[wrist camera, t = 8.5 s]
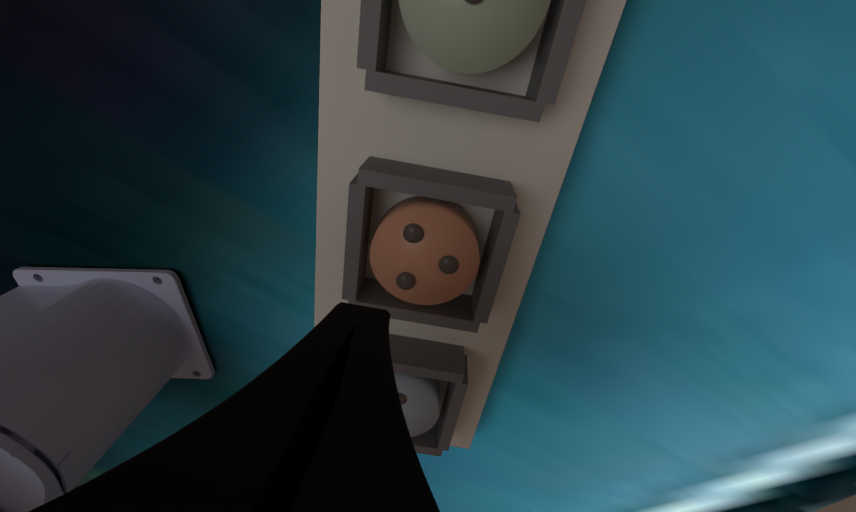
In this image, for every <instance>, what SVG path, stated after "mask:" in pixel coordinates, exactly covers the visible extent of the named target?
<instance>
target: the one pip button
mask: <svg viewBox="0 0 856 512" xmlns="http://www.w3.org/2000/svg"><path fill="white" fill-rule="evenodd" d="M549 4H550V0H399V7H400V11H401V15H402V18H403V21H404V24H405V26H406V29H407V31H408V33H409V34H410V36H411V38H412V40H413V41H414V43H415V44H416V45H417V47H418V48H419V49H420V50H421V51H422V53H423V54H424V55H425V56H426V57H428V58H429V59H430V60H431V61H433V62H434V63H436V64H437V65H439V66H441V67H443V68H445V69H447V70H450V71H454V72H457V73H465V74H477V73H483V72H488V71H491V70H494V69H496V68H498V67H501V66H503V65H505V64H506V63H508V62H509V61H511V60H512V59H514V58H515V57H516V56H517V55H518V54H520V53H521V52H522V51H523V50H524V49H525V48H526V46H527V45H528V44H529V43H530V42H531V40H532V39H533V38H534V36H535V35H536V33H537V32H538V30H539V28H540V26H541V25H542V22H543V20H544V18H545V16H546V13H547V10H548V7H549Z"/></svg>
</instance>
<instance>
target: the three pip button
mask: <svg viewBox="0 0 856 512" xmlns="http://www.w3.org/2000/svg"><path fill="white" fill-rule="evenodd" d="M479 261H480V256H479V247H478V240H477V234H476V230H475V227H474V225H473V222H472V221H471V219H470V217H469V216H468V215H467V214H466V212H465V211H464V210H463V209H461V208H460V207H459V206H458V205H456V204H455V203H453V202H451V201H445V200H439V199H434V198H428V197H423V196H413V197H410V198H407V199H404V200H402V201H400V202H398V203H397V204H395V205H394V206H393V207H391V208H390V209H389V210H388V211H387V212H386V214H385V215H384V216H383V218H382V220H381V222H380V224H379V226H378V228H377V230H376V233H375V235H374V237H373V240H372V243H371V247H370V264H371V267H372V270H373V273H374V275H375V277H376V278H377V280H378V282H379V283H380V284H381V285H382V286H383V287H384V288H385V289H386V290H387V291H388V292H389V293H390V294H392V295H393V296H395V297H397V298H399V299H401V300H403V301H406V302H409V303H413V304H418V305H436V304H441V303H444V302H447V301H450V300H452V299H454V298H456V297H458V296H459V295H461V294H462V293H463V292H464V291H465V290H466V289H467V288H468V287H469V286H470V285H471V283H472V282H473V280H474V279H475V277H476V274H477V272H478V268H479Z"/></svg>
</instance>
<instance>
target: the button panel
mask: <svg viewBox="0 0 856 512" xmlns="http://www.w3.org/2000/svg"><path fill="white" fill-rule="evenodd" d="M625 3H626V0H550V4H549V7H548V10H547V13H546V16H545V18H544V20H543V22H542V25H541V26H540V28H539V30H538V32H537V33H536V35H535V36H534V38H533V39H532V40H531V42H530V43H529V44H528V45H527V46H526V48H525V49H524V50H523V51H522V52H521V53H520V54H518V55H517V56H516V57H515V58H514V59H512V60H511V61H509V62H508V63H506V64H505V65H503V66H501V67H498V68H496V69H494V70H491V71H488V72H483V73H477V74H465V73H457V72H454V71H450V70H447V69H445V68H443V67H441V66H439V65H437V64H436V63H434V62H433V61H431V60H430V59H429V58H428V57H426V56H425V55H424V54H423V53H422V51H421V50H420V49H419V48H418V47H417V45H416V44H415V43H414V41H413V40H412V38H411V36H410V34H409V33H408V31H407V29H406V26H405V24H404V21H403V18H402V15H401V11H400V7H399V0H321V41H320V87H319V133H318V179H317V225H316V270H315V316H314V327H315V326H316V325H317V324H318V323H319V322H320V321H321V320H322V319H323V318H324V317H325V316H326V315H327V314H328V313H329V312H330V311H331V310H332V309H333V308H334V307H335V306H336V305H337V304H339V303H340V302H344V303H349V304H355V305H361V306H367V307H372V308H378V309H384V310H387V311H388V312H389V313H390V314H391V315H390V322H389V341H390V351H391V359H392V364H393V370H394V372H395V373H401V374H407V375H413V376H419V377H425V378H431V379H437V380H438V381H439V384H440V406H439V417H438V420H437V422H436V423H435V425H434V426H433V427H432V428H431V429H430V430H428V431H427V432H425V433H423V434H420V435H418V436H414V437H411V439H412V443H413V446H414V448H415V451H416V453H423V454H429V455H435V456H441V454H442V450H447V451H448V449H449V446H455V447H461V448H467V449H469V448H470V445H471V442H472V439H473V437H474V434H475V431H476V428H477V425H478V422H479V419H480V417H481V414H482V411H483V408H484V405H485V402H486V400H487V397H488V394H489V391H490V388H491V385H492V382H493V380H494V377H495V374H496V371H497V368H498V365H499V362H500V360H501V357H502V354H503V351H504V348H505V345H506V342H507V340H508V337H509V334H510V331H511V328H512V325H513V323H514V320H515V317H516V314H517V311H518V308H519V305H520V303H521V300H522V297H523V294H524V291H525V288H526V285H527V283H528V280H529V277H530V274H531V271H532V268H533V265H534V263H535V260H536V257H537V254H538V251H539V248H540V246H541V243H542V240H543V237H544V234H545V231H546V228H547V226H548V223H549V220H550V217H551V214H552V211H553V208H554V206H555V203H556V200H557V197H558V194H559V191H560V189H561V186H562V183H563V180H564V177H565V174H566V171H567V169H568V166H569V163H570V160H571V157H572V154H573V151H574V149H575V146H576V143H577V140H578V137H579V134H580V131H581V129H582V126H583V123H584V120H585V117H586V114H587V112H588V109H589V106H590V103H591V100H592V97H593V94H594V92H595V89H596V86H597V83H598V80H599V77H600V74H601V72H602V69H603V66H604V63H605V60H606V57H607V54H608V52H609V49H610V46H611V43H612V40H613V37H614V35H615V32H616V29H617V26H618V23H619V20H620V17H621V15H622V12H623V9H624V6H625ZM413 196H423V197H428V198H434V199H439V200H445V201H451V202H453V203H455V204H456V205H458V206H459V207H460V208H461V209H463V210H464V211H465V212H466V214H467V215H468V216H469V217H470V219H471V221H472V222H473V225H474V227H475V230H476V234H477V240H478V247H479V256H480V261H479V268H478V272H477V274H476V277H475V279H474V280H473V282H472V283H471V285H470V286H469V287H468V288H467V289H466V290H465V291H464V292H463V293H462V294H461V295H459V296H458V297H456V298H454V299H452V300H450V301H447V302H444V303H441V304H436V305H418V304H413V303H409V302H406V301H403V300H401V299H399V298H397V297H395V296H393V295H392V294H390V293H389V292H388V291H387V290H386V289H385V288H384V287H383V286H382V285H381V284H380V283H379V282H378V280H377V278H376V277H375V275H374V273H373V270H372V267H371V264H370V247H371V243H372V240H373V237H374V235H375V233H376V230H377V228H378V226H379V224H380V222H381V220H382V218H383V216H384V215H385V214H386V212H387V211H388V210H389V209H390V208H391V207H393V206H394V205H395V204H397V203H398V202H400V201H402V200H404V199H407V198H410V197H413Z"/></svg>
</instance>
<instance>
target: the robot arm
mask: <svg viewBox="0 0 856 512" xmlns="http://www.w3.org/2000/svg"><path fill="white" fill-rule="evenodd" d="M13 276H14V278H15V280H16V281H17V283H18V285H19V287H17V288H15V289H13V290H11V291H9V292H7V293H5V294H3V295H1V296H0V512H440V511H439V509H438V506H437V504H436V501H435V499H434V497H433V494H432V492H431V490H430V487H429V485H428V482H427V480H426V478H425V475H424V473H423V470H422V468H421V465H420V462H419V459H418V457H417V454H416V451H415V448H414V446H413V443H412V439H411V436H410V433H409V430H408V427H407V424H406V420H405V417H404V414H403V410H402V406H401V402H400V398H399V394H398V390H397V386H396V381H395V376H394V370H393V364H392V359H391V351H390V341H389V322H390V315H391V314H390V313H389V312H388V311H387V310H384V309H378V308H372V307H367V306H361V305H355V304H349V303H344V302H340V303H339V304H337V305H336V306H335V307H334V308H333V309H332V310H331V311H330V312H329V313H328V314H327V315H326V316H325V317H324V318H323V319H322V320H321V321H320V322H319V323H318V324H317V325H316V326H315V327H314V328H313V329H312V330H311V331H310V332H309V333H308V334H307V335H306V336H305V337H304V338H303V339H301V340H300V341H299V342H298V343H297V344H296V345H295V346H294V347H293V348H291V349H290V350H289V351H288V352H287V353H286V354H285V355H283V356H282V357H281V358H280V359H279V360H277V361H276V362H275V363H274V364H272V365H271V366H270V367H269V368H267V369H266V370H265V371H264V372H263V373H261V374H260V375H259V376H258V377H256V378H255V379H254V380H252V381H251V382H250V383H248V384H247V385H246V386H244V387H243V388H242V389H240V390H239V391H238V392H236V393H235V394H233V395H232V396H231V397H229V398H228V399H226V400H225V401H223V402H222V403H220V404H219V405H218V406H216V407H215V408H213V409H212V410H210V411H209V412H207V413H206V414H204V415H202V416H201V417H199V418H198V419H196V420H195V421H193V422H191V423H190V424H188V425H187V426H185V427H184V428H182V429H180V430H179V431H177V432H176V433H174V434H172V435H171V436H169V437H167V438H166V439H164V440H162V441H161V442H159V443H157V444H156V445H154V446H152V447H150V448H149V449H147V450H145V451H143V452H141V453H140V454H138V455H136V456H134V457H132V458H131V459H129V460H127V461H125V462H123V463H121V464H120V465H118V466H116V467H114V468H112V469H110V470H109V471H107V472H105V473H103V474H101V475H100V476H98V477H96V478H94V479H92V480H90V481H89V482H87V483H85V484H83V485H81V486H79V487H77V488H75V489H73V488H74V487H75V486H76V485H77V484H78V482H79V481H80V480H81V479H82V478H83V477H84V476H85V474H86V473H87V472H88V471H89V470H90V469H91V468H92V467H93V465H94V464H95V463H96V462H97V461H98V460H99V459H100V458H101V456H102V455H103V454H104V453H105V452H106V451H107V450H108V449H109V447H110V446H111V445H112V444H113V443H114V442H115V441H116V440H117V438H118V437H119V436H120V435H121V434H122V433H123V432H124V430H125V429H126V428H127V427H128V426H129V425H130V424H131V423H132V421H133V420H134V419H135V418H136V417H137V416H138V415H139V414H140V412H141V411H142V410H143V409H144V408H145V407H146V406H147V405H148V403H149V402H150V401H151V400H152V399H153V398H154V397H155V395H156V394H157V393H158V392H159V391H160V390H161V389H162V388H163V386H164V385H165V384H166V383H167V382H168V381H169V380H170V379H171V378H188V379H210V378H212V376H213V375H214V373H215V370H214V367H213V365H212V362H211V360H210V357H209V354H208V352H207V349H206V347H205V344H204V341H203V339H202V336H201V334H200V331H199V328H198V326H197V323H196V321H195V318H194V315H193V313H192V310H191V308H190V305H189V303H188V300H187V297H186V295H185V292H184V290H183V287H182V284H181V282H180V279H179V277H178V275H177V274H176V273H175V272H173V271H171V270H151V269H106V268H60V267H20V268H18V269H15V270H14V271H13ZM158 277H159V278H160V279H161V280H160V279H159V278H158ZM72 489H73V490H72Z"/></svg>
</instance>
